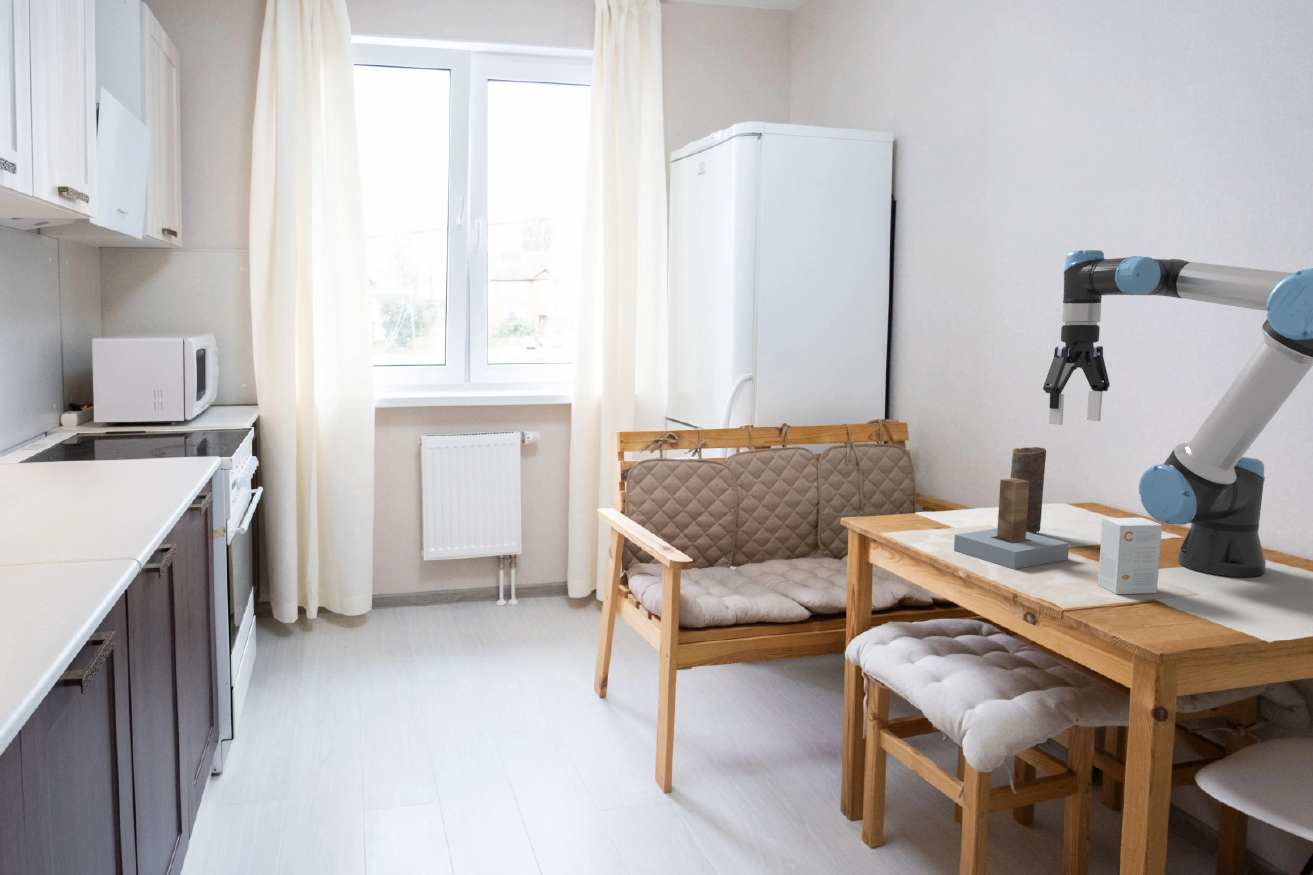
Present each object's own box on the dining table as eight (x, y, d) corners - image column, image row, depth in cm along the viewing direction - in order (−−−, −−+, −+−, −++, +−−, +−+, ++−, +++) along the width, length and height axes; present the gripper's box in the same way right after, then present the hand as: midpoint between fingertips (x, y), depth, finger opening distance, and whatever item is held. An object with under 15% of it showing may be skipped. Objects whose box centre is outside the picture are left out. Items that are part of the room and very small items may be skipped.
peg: (1024, 556, 198) (1029, 481, 196) (1011, 558, 196) (1015, 482, 194) (1009, 551, 201) (1013, 478, 199) (995, 553, 200) (1000, 479, 197)
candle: (1045, 537, 214) (1051, 450, 211) (1012, 537, 214) (1018, 450, 211) (1032, 529, 221) (1038, 445, 219) (1001, 529, 222) (1006, 445, 219)
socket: (1068, 559, 196) (1069, 543, 195) (1014, 569, 188) (1015, 552, 187) (1006, 542, 209) (1007, 526, 209) (953, 550, 202) (954, 534, 201)
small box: (1136, 583, 179) (1142, 516, 177) (1157, 594, 172) (1163, 524, 171) (1096, 584, 178) (1101, 517, 176) (1115, 595, 172) (1121, 525, 170)
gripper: (1098, 323, 212) (1093, 417, 214) (1028, 324, 198) (1023, 424, 201) (1130, 323, 205) (1124, 420, 208) (1060, 324, 192) (1055, 427, 195)
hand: (1075, 422), depth 205 cm, fingers open, 13 cm apart
